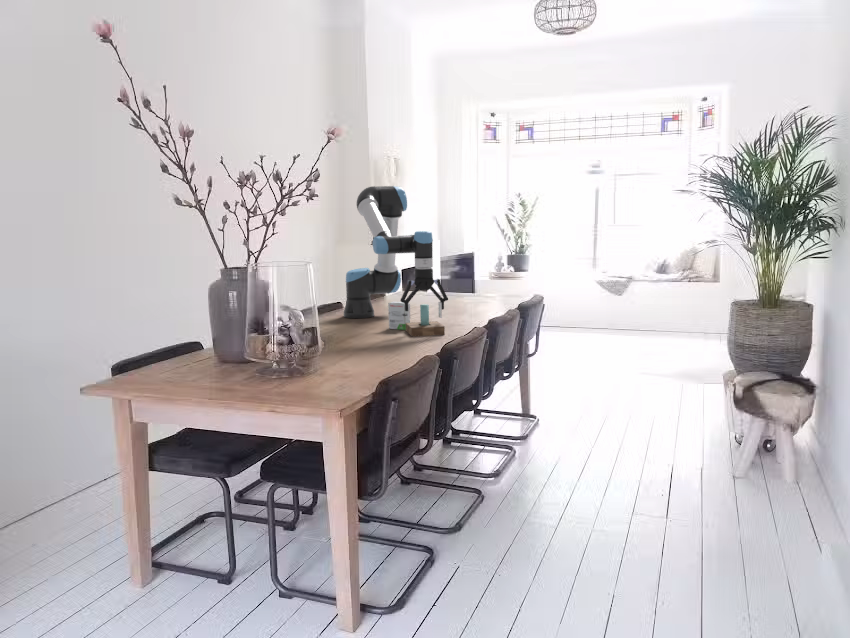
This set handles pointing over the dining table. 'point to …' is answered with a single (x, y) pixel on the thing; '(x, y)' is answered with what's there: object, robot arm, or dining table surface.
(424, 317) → the peg
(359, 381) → the dining table surface
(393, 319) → the ink box
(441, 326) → the socket
